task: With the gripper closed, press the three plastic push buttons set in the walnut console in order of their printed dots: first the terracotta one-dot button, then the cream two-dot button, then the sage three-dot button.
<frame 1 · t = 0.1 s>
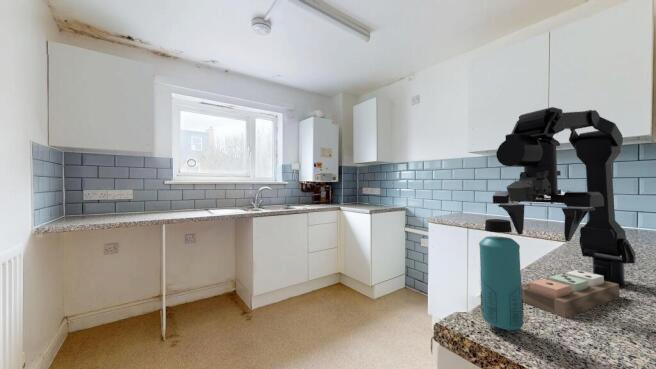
hand: (542, 237, 58), 14 cm above the countertop, tool pointing down, fingers open, 9 cm apart
console: (568, 298, 60), on the countertop
three dot button: (567, 284, 60), point 3 cm above the countertop, slide at 0.0 cm
beverage bottle: (501, 330, 48), on the countertop
two dot button: (584, 279, 63), point 3 cm above the countertop, slide at 0.0 cm
one dot button: (549, 289, 57), point 3 cm above the countertop, slide at 0.0 cm
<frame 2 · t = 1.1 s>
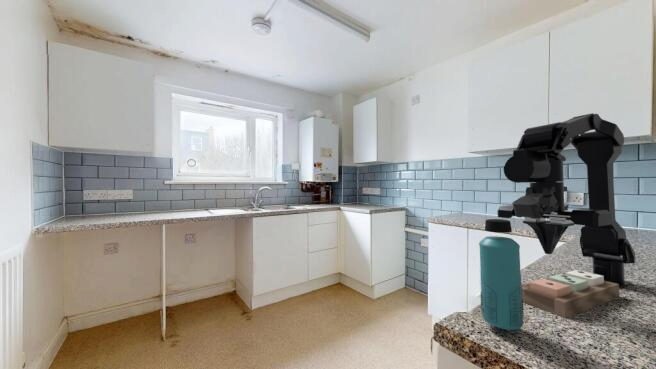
hand: (548, 253, 57), 11 cm above the countertop, tool pointing down, fingers closed
nothing on the countertop moved.
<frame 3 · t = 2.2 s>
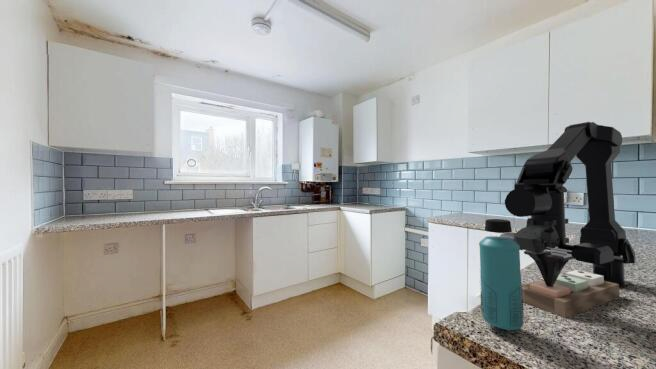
hand: (549, 285, 57), 4 cm above the countertop, tool pointing down, fingers closed, pressing on one dot button
one dot button: (549, 291, 57), point 3 cm above the countertop, slide at 0.5 cm, touching gripper
everything else where it was.
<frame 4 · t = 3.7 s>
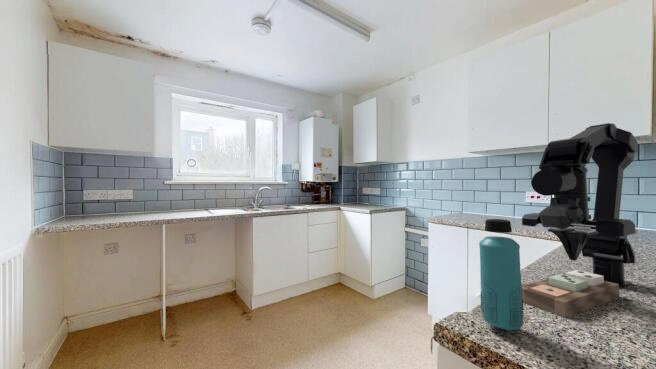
hand: (573, 260, 61), 8 cm above the countertop, tool pointing down, fingers closed
one dot button: (549, 295, 57), point 2 cm above the countertop, slide at 1.3 cm
everything else where it was.
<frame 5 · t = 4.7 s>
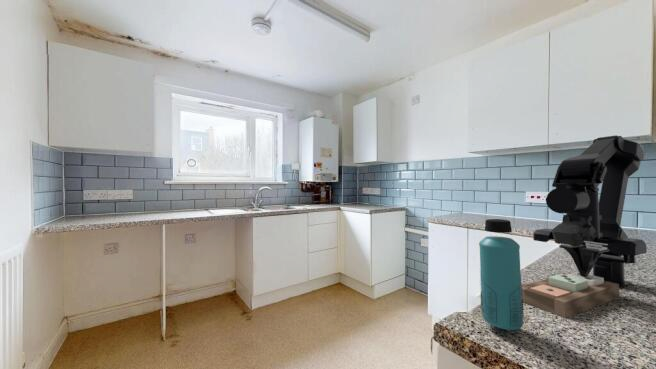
hand: (584, 276, 63), 4 cm above the countertop, tool pointing down, fingers closed, pressing on two dot button
two dot button: (584, 281, 63), point 3 cm above the countertop, slide at 0.5 cm, touching gripper
everything else where it was.
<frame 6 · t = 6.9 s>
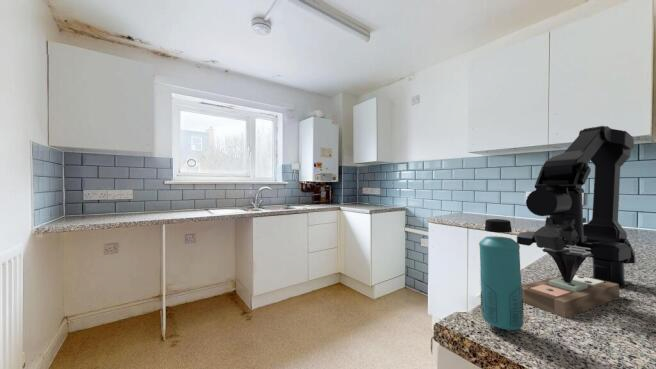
hand: (567, 281, 60), 4 cm above the countertop, tool pointing down, fingers closed, pressing on three dot button
three dot button: (567, 287, 60), point 3 cm above the countertop, slide at 0.8 cm, touching gripper
two dot button: (584, 284, 63), point 2 cm above the countertop, slide at 1.2 cm
everything else where it was.
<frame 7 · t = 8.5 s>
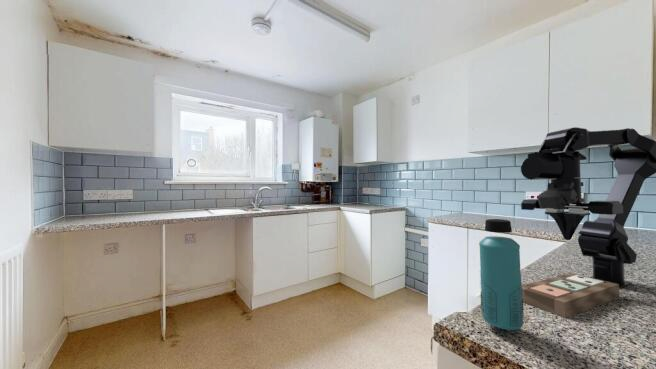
hand: (567, 239, 67), 12 cm above the countertop, tool pointing down, fingers closed
three dot button: (568, 290, 60), point 2 cm above the countertop, slide at 1.3 cm
everything else where it was.
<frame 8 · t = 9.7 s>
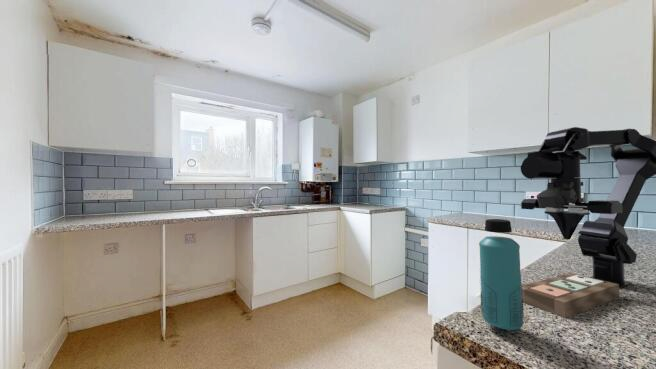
hand: (567, 239, 67), 12 cm above the countertop, tool pointing down, fingers closed
nothing on the countertop moved.
at the end: one dot button slide at 1.3 cm; two dot button slide at 1.2 cm; three dot button slide at 1.3 cm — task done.
